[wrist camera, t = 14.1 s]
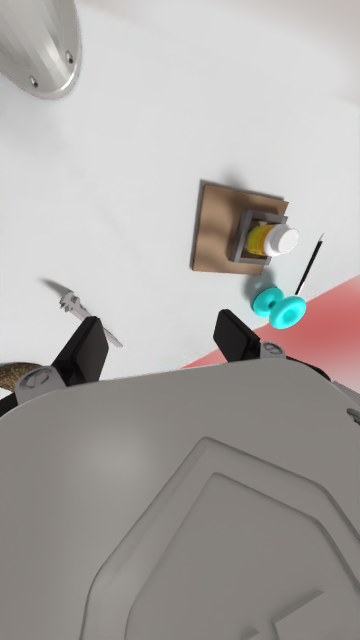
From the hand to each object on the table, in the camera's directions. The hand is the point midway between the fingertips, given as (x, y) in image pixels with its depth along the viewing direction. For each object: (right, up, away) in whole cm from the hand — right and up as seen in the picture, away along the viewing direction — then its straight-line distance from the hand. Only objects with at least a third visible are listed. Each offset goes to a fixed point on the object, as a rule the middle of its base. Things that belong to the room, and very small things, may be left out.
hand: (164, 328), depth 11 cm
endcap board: (+15, +21, +22) cm, 34 cm away
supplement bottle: (+19, +20, +22) cm, 35 cm away
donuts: (+30, +7, +35) cm, 46 cm away
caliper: (-21, 0, +27) cm, 34 cm away
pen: (+41, +17, +32) cm, 54 cm away
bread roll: (-47, -17, +31) cm, 59 cm away
